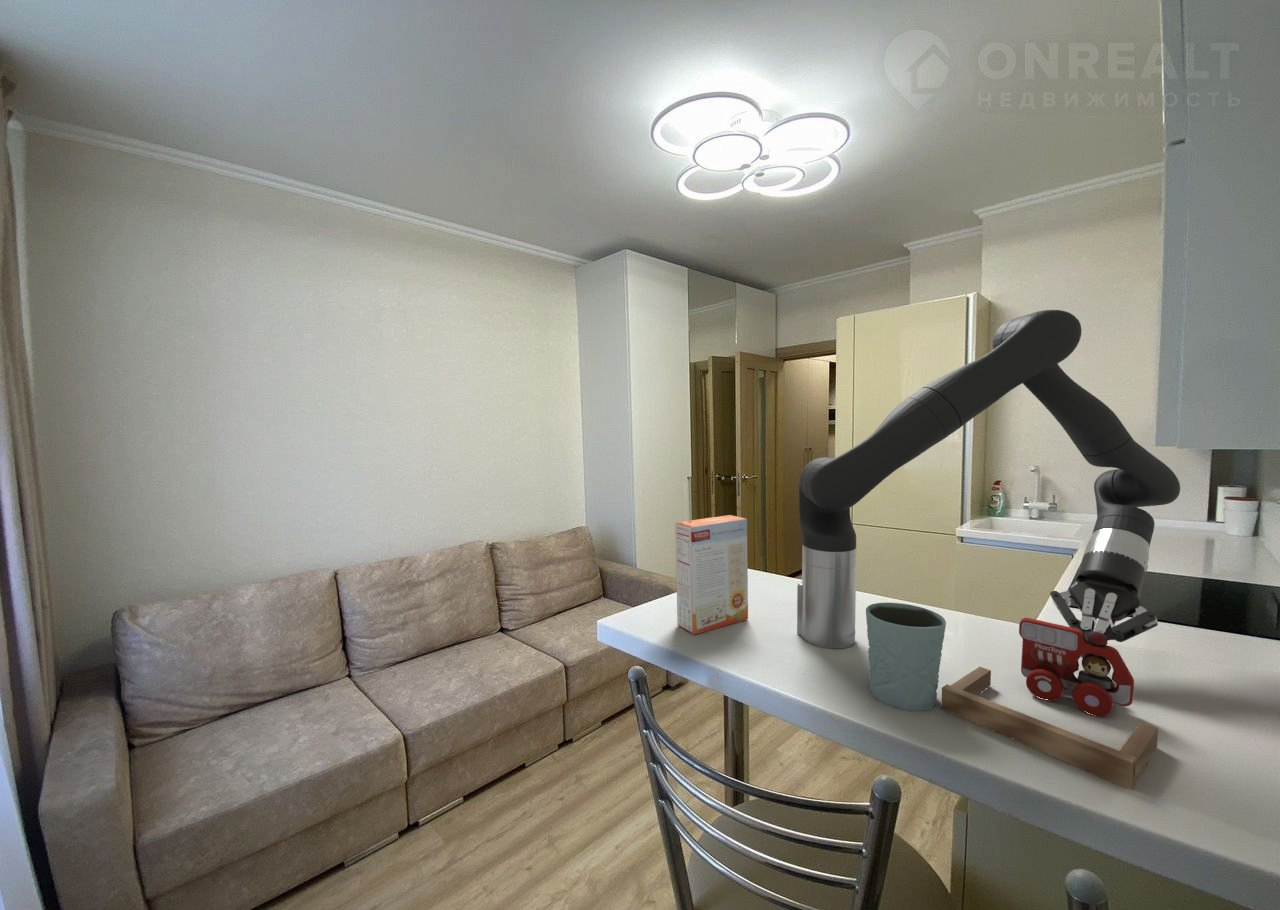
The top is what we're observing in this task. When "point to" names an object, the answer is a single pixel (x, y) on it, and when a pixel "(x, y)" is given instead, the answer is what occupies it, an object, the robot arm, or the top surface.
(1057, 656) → the toy fire truck
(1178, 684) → the top surface
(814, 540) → the robot arm
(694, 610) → the cracker box
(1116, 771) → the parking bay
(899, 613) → the grey-green textured vase
